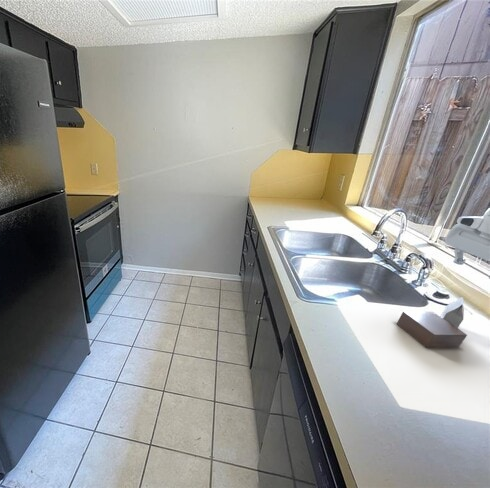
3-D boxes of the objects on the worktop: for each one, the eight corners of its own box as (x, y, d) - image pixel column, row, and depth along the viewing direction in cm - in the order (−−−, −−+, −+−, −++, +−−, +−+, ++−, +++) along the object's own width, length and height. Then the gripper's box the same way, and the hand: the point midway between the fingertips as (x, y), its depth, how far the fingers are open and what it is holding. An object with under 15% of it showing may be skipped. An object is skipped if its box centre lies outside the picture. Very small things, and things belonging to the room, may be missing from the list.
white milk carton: (437, 327, 83) (453, 302, 78) (438, 318, 87) (454, 294, 83) (453, 334, 80) (470, 308, 76) (454, 324, 84) (470, 299, 80)
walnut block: (425, 323, 84) (432, 311, 82) (458, 347, 75) (467, 334, 73) (396, 323, 83) (403, 311, 81) (426, 347, 74) (434, 334, 72)
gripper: (569, 243, 61) (531, 292, 67) (472, 216, 79) (449, 256, 85) (544, 243, 60) (509, 291, 66) (452, 215, 79) (431, 255, 85)
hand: (474, 271), depth 76 cm, fingers open, 8 cm apart
